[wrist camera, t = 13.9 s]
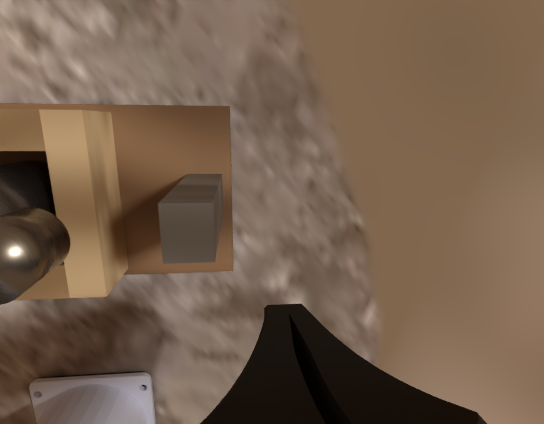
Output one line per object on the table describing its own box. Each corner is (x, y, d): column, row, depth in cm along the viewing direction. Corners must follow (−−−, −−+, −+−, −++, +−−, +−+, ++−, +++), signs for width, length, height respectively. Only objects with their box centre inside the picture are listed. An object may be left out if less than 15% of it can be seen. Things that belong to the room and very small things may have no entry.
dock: (233, 264, 22) (230, 345, 14) (-44, 273, 21) (-226, 369, 13) (229, 107, 20) (223, 95, 12) (-88, 103, 18) (-353, 86, 10)
